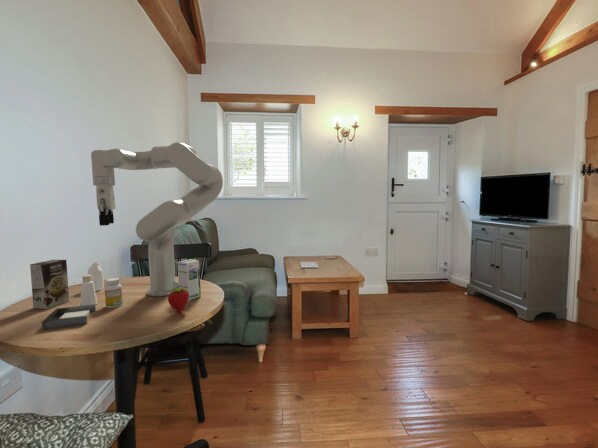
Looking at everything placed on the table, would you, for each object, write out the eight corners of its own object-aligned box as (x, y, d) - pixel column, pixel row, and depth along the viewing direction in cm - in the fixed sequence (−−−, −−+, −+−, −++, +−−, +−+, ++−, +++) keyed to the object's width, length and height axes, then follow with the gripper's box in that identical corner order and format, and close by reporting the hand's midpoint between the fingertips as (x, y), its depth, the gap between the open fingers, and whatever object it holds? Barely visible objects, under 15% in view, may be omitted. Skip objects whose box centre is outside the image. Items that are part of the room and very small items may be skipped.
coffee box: (47, 309, 113) (43, 264, 112) (32, 308, 115) (28, 264, 113) (70, 301, 122) (67, 259, 121) (56, 300, 124) (53, 258, 122)
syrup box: (189, 300, 120) (187, 262, 119) (179, 298, 123) (177, 261, 122) (201, 296, 125) (199, 260, 124) (191, 294, 128) (189, 258, 127)
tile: (90, 315, 108) (89, 310, 108) (84, 323, 101) (83, 317, 101) (65, 319, 105) (64, 313, 105) (57, 327, 99) (57, 320, 99)
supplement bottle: (110, 303, 119) (108, 277, 118) (125, 302, 119) (124, 277, 118) (102, 308, 113) (101, 281, 112) (118, 307, 114) (117, 281, 113)
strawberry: (164, 315, 106) (162, 285, 105) (180, 308, 113) (179, 280, 112) (178, 317, 103) (176, 287, 102) (194, 310, 110) (192, 281, 109)
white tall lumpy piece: (83, 263, 134) (93, 260, 140) (85, 291, 135) (95, 287, 141) (95, 263, 133) (105, 260, 139) (98, 291, 134) (107, 287, 140)
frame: (95, 311, 111) (95, 304, 111) (86, 324, 99) (85, 316, 99) (57, 315, 107) (56, 308, 107) (42, 330, 95) (41, 322, 95)
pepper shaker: (78, 305, 117) (75, 275, 116) (95, 301, 121) (93, 272, 120) (82, 308, 114) (79, 278, 113) (99, 304, 118) (97, 275, 117)
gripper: (110, 180, 122) (113, 225, 123) (118, 182, 138) (121, 222, 139) (87, 180, 119) (90, 226, 120) (98, 182, 135) (101, 223, 137)
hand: (107, 224), depth 130 cm, fingers open, 9 cm apart
